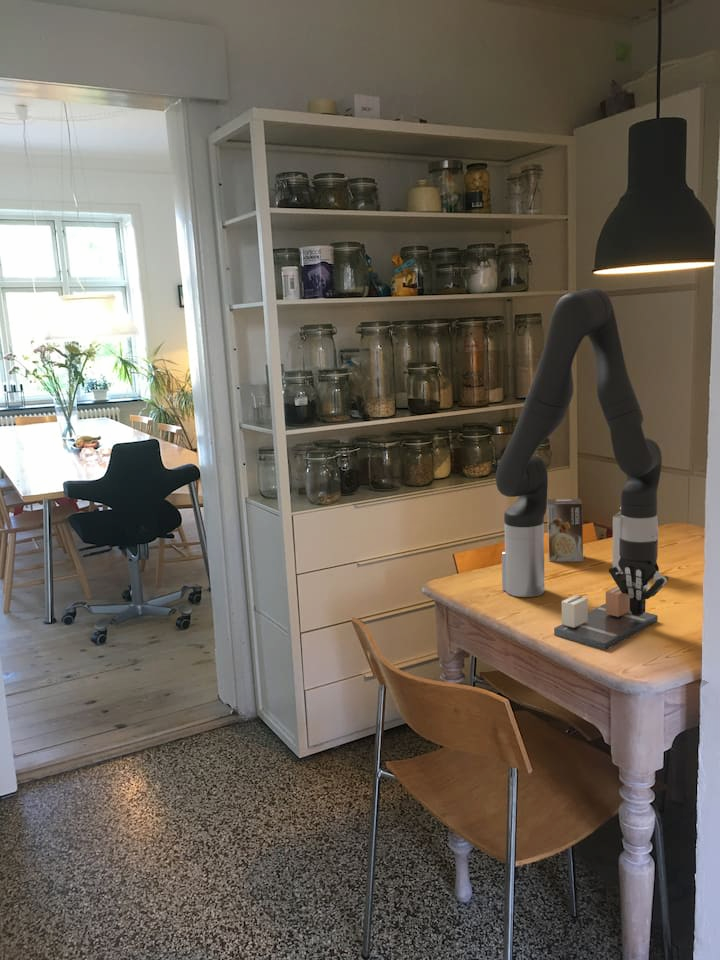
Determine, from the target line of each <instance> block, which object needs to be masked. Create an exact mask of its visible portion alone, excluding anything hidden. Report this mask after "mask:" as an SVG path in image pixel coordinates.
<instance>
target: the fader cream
mask: <svg viewBox="0 0 720 960" xmlns="http://www.w3.org/2000/svg"><path fill="white" fill-rule="evenodd" d="M588 612H589V598H588V597H583V596H582V595H573V596H571V597H568V598H566V599H563V600H562V601H561V625H562V624H563V625H566V626H570V627H573V628H574V627H576V626H578V625H580V624H583V623H585V622H587V621H588Z"/></svg>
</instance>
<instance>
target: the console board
mask: <svg viewBox="0 0 720 960" xmlns="http://www.w3.org/2000/svg"><path fill="white" fill-rule="evenodd" d="M658 620H659V619H658V615H657V614H654V613H650V612H647V611H645V612H644V613H643V614H642V615H641V616H635V615H632V612H630V611H629V612H627V613H625V614H623V615H621V616H619V617H617V616H613V615H609V614H606V602H605V603H604V604H601V605H599V606H597V607H595V608H593V609H591V610H588V621H587V622H585V623H583V624H580V625H578V626H576V627H574V628H573V627H570V626H566V625H563V624H562V623H561V624H560V625H558V626H556V627H554V629H553V630H554V632H553V635H554V636H557V637H560V638H563V639H566V640H570V641H573V642H576V643H579V644H583V645H586V646H589V647H592V648H596V649H598V650H602V651H606V650H608V649H611V648H613V647H614V646H616V645H618V644H620V643H621V642H623V641H626V640H627V639H629V638H630V637H633V636H634V635H636V634H638V633H640V632H641V631H643V630H645V629H647V628H649V627H651V626H653V625H655V624H656V623H658Z"/></svg>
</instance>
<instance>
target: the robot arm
mask: <svg viewBox="0 0 720 960" xmlns="http://www.w3.org/2000/svg"><path fill="white" fill-rule="evenodd" d="M617 323H618V322H617V318H616V314H615V310H614V306H613V303H612V301H611V298H610V297H609V296H608V294H607V292H606V291H603V290H602V289H600V288H595V287H591V288H590V287H589V288H586V289H581V290H577V291H572V292H569V293H566V294H564V295H563V296H562V297H560V298H559V299H558V301H557V302H556V304H555V305H554V308H553V311H552V315H551V317H550V322H549V327H548V331H547V335H546V339H545V343H544V346H543V350H542V353H541V357H540V359H539V362H538V365H537V367H536V371H535V374H534V376H533V380H532V382H531V384H530V386H529V389H528V392H527V395H526V398H525V401H524V402H523V403H524V404H523V407H522V410H521V412H520V415H519V418H518V420H517V423H516V424H515V425H516V426H515V428H514V431H513V433H512V435H511V438H510V440H509V441H508V444H507V446H506V448H505V449H504V452H503V454H502V455H501V458H500V459H499V461H498V462H499V463H498V465H497V467H496V472H495V485H496V487H497V490H498V492H499V493H500V494H501V495H503V496H505V497H509V498H513V497H517V500H516V502H514V503H513V504H512V505H511V506H509V507H508V508H507V509H506V510H505V511H504V513H503V515H504V516H503V517H504V519H503V520H504V521H503V523H504V551H503V552H502V553H501V582H502V583H501V585H502V590H501V591H505V592H506V594H508V595H510V596H513V597H517V598H533V597H534V598H535V597H538V596H539V597H540V596H541V595H543V594H545V590H546V588H545V527H544V526H545V525H544V523H545V521H544V520H545V515H546V511H547V510H548V502H547V501H548V488H549V487H548V485H549V484H548V483H549V479H548V478H549V477H548V469H547V465H546V463H545V461H544V460H543V458H541V457H540V456H539V455H537V454H535V453H536V451H537V449H538V448H539V447H540V446H541V445H542V444H543V443H544V442H545V441H546V440H547V439H548V438H549V437H550V436H551V435H552V434H553V433H554V432H555V431H556V430H557V429H558V427H559V426H560V425H561V423H562V422H563V421H564V418H565V416H566V414H567V411H568V408H569V406H570V405H571V404H570V403H571V401H572V398H573V394H574V380H573V371H572V370H573V369H572V366H573V362H574V360H575V359H574V358H575V356H576V354H577V351H578V349H579V346H580V344H581V343H582V341H583V339H584V338H585V337H588V339H589V341H590V343H591V346H592V347H593V351H594V355H595V361H596V394H597V398H598V399H597V400H598V402H599V405H600V408H601V411H602V413H603V416H604V419H605V421H606V424H607V426H608V428H609V432H610V434H609V435H610V440H611V444H612V445H611V446H612V451H613V454H614V459H615V461H616V464H617V465H618V467H619V469H620V470H621V471H622V473H624V474H625V475H626V480H625V481H626V482H625V484H624V487H623V488H622V490H621V496H620V507H621V509H620V511H621V519H620V535H619V555H620V560H619V562H618V565H617V566H615V567H613V566H612V567H610V568H609V569H608V574H610V576H611V577H612V579H613V581H614V582H615V584H616V586H618V587H619V589H620V590H621V592H622V593H625V594H627V595H628V596H629V597H630V612H632V615H635V616H641V615H642V614H643V613H644V612H646V600H649V599H650V598H652V597H654V596H655V595H656V594H658V592H659V591H661V589H662V588H663V587H664V586H665V585H666V584H667V583H668V582H669V581H670V580H669V577H668V575H667V576H666V575H664V576H663V574H662V573H661V572H660V571H659V569H660V568H659V567H660V566H659V565H658V560H657V559H658V555H659V554H658V551H659V550H658V549H659V548H658V547H659V546H658V545H659V542H658V541H659V523H658V488H659V484H660V479H661V478H660V477H661V471H662V462H663V460H662V458H663V457H662V451H661V448H660V446H659V445H658V443H657V442H655V441H654V440H653V439H651V438H648V437H645V435H644V429H643V427H642V425H643V421H644V416H643V411H642V409H641V407H640V403H639V401H638V398H637V396H636V393H635V390H634V388H633V385H632V382H631V379H630V376H629V373H628V369H627V367H626V366H627V365H626V362H625V358H624V357H625V356H624V353H623V348H622V344H621V338H620V334H619V328H618V324H617ZM652 580H653V581H652ZM651 581H652V582H653V584H652V585H651V586H650V582H651ZM649 586H650V587H649Z"/></svg>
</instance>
